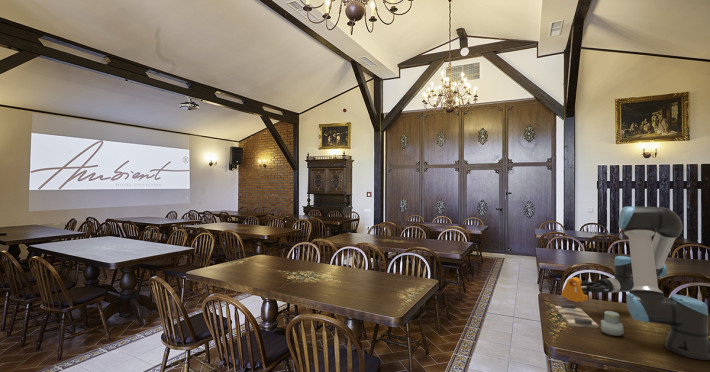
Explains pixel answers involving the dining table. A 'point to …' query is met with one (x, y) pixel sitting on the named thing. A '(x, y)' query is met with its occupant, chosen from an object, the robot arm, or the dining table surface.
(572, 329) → the dining table surface
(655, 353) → the dining table surface
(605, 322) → the air freshener
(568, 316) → the rail board
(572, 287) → the bracket
